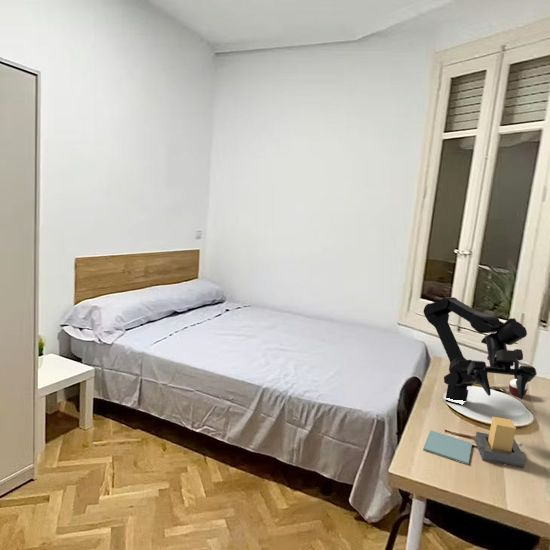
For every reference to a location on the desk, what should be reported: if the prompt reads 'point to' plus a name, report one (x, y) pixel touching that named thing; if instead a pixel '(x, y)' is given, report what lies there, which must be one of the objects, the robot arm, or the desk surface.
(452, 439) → the rubber mat
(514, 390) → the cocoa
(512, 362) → the robot arm
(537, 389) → the desk surface
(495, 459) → the square-hole plate
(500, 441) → the ochre square block
